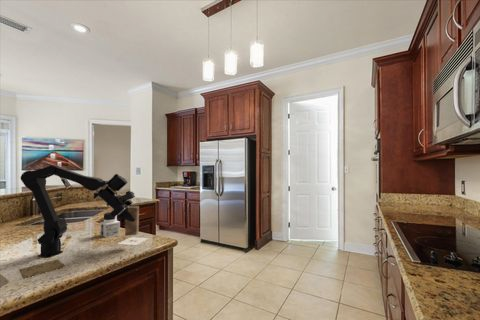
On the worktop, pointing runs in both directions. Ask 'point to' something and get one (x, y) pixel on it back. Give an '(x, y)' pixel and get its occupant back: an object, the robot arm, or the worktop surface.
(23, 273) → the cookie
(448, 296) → the worktop surface
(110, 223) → the container
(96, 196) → the robot arm
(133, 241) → the tile
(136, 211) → the walnut block
